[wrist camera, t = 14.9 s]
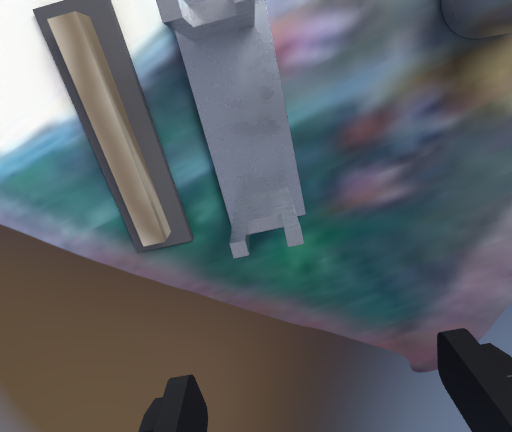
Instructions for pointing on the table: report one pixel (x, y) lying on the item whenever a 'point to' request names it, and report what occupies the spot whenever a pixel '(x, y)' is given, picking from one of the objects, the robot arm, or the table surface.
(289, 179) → the hook rack
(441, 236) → the table surface
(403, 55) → the table surface
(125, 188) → the birch rail
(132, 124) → the rubber mat
